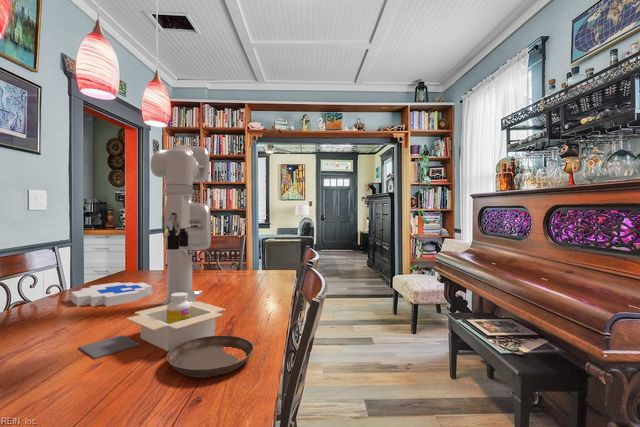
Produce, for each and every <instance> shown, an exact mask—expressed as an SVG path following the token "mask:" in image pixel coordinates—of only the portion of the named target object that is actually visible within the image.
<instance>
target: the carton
mask: <svg viewBox="0 0 640 427" xmlns="http://www.w3.org/2000/svg"><path fill="white" fill-rule="evenodd" d="M190 304H191V316H190V319H186V320H183V321H179V322H176V323H172V324H167V305H164V306H163V305H160V306H156V307H151V308H148V309H143V310H139V311H135V312H134V314H135V315H134V316H129V317H126V320H127V321H129V322H132V323H134V324H136V325H138V326H140V339H141V340H143V341H144V342H145V341H146V342H147V343H149V344H152V345H154V346H156V347H158V348H160V349H162V350H164V351H166V352H169V351H170V350H171V349H173V348H174V347H176V346H177V345H179V344H181V343H184V342H186V341H189V340H193V339H197V338H201V337H208V336H216V319H218V318H221V317H224V314H223V313H221V312H225V311H227V310H226V308H224V307H220V306H216V305H212V304H209V303H206V302H202V301H198V300H196V302H193V303H190Z"/></svg>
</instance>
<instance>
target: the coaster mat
mask: <svg viewBox="0 0 640 427" xmlns="http://www.w3.org/2000/svg"><path fill="white" fill-rule="evenodd" d="M139 346H141V343H139V342H138V341H135V340H133V339H131V338H130V337H127V336H126V335H124V334H120V335H117V336H113V337H110V338H106V339H103V340H99V341H94V342H91V343H87V344H84V345H80V346H78V349H79V350H80V351H81V352H84V353H85V354H87V355H88V356H90V357H91V358H92V359H94V360H96V359H100V358H105V357H106V356H110V355H113V354H116V353H120V352H123V351H126V350H129V349H132V348H136V347H139Z"/></svg>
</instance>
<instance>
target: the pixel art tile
mask: <svg viewBox="0 0 640 427" xmlns="http://www.w3.org/2000/svg"><path fill="white" fill-rule="evenodd" d="M150 295H153V286H152V284H151V285H150V284H148V283H146V282H143V281H141V282H136V283H134V282H122V283H121V282H120V281H118V282H112V283H111V282H109V283H104V284H103V283H101V284H94V285H89V287H85V288H84V287H83V288H80V290H75V291H71V292H70V302H72V303H73V304H74V305H75V304H76V305H77V306H76V305H75V306H76V307H81V306H80V305H82V306H87V304H89V305H90V307H96V306H102V305H104V306H105V307H111V306H117V305H122V304H128V303H134V302H135V303H136V302H140V300H141V299H144V298H147V296H150Z"/></svg>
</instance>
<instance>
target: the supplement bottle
mask: <svg viewBox="0 0 640 427" xmlns="http://www.w3.org/2000/svg"><path fill="white" fill-rule="evenodd" d="M187 297H188V294H187V293H184V292H180V293H173V294H171V302H170V303H169V304H168V305H167V324H172V323H176V322H179V321H183V320H186V319H190V316H191V304H190V302H188V301H187Z"/></svg>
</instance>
